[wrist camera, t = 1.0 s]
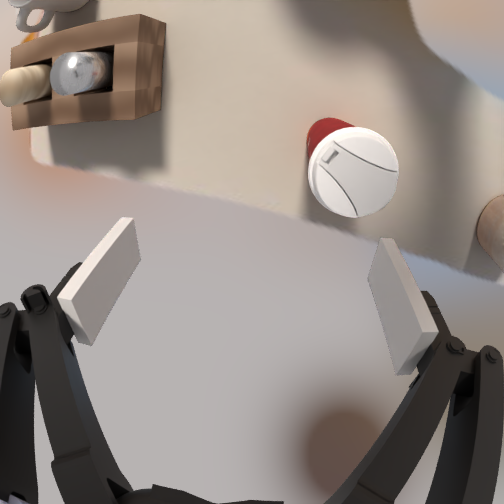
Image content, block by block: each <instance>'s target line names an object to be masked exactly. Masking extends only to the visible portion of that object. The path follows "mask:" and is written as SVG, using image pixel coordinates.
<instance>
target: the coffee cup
mask: <svg viewBox="0 0 504 504" xmlns="http://www.w3.org/2000/svg"><path fill="white" fill-rule="evenodd" d="M307 148H308V155H309V161H310V162H309V167H308V179H309V184H310V187H311V190H312V192H313V194H314V196H315V197H316V199H317V200H318V201H319V202H320V204H322V205H323V206H324V207H325V208H326V209H328V210H330V211H331V212H334V213H336V214H339V215H342V216H346V217H352V218H357V216H358V217H362V216H366V215H369V214H373V213H375V212H377V211H379V210H381V209H382V208H384V207H385V206H386V205H387V204H388V203H389V202H390V200H391V199H392V197H393V195H394V193H395V191H396V186H397V181H398V175H399V167H398V160H397V157H396V154H395V152H394V150H393V148H392V147H391V145H390V144H389V143H388V141H387V140H386V139H385V138H383V137H382V136H381V135H380V134H378V133H376V132H374V131H372V130H369V129H366V128H361V127H355V126H353V125H351V124H349V123H346V122H344V121H342V120H339V119H335V118H324V119H321V120H319V121H317V122H316V123H314V124H313V125H312V127H311V128H310V130H309V132H308V135H307Z"/></svg>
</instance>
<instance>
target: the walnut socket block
mask: <svg viewBox="0 0 504 504" xmlns="http://www.w3.org/2000/svg"><path fill="white" fill-rule="evenodd" d="M165 28H166V23H164V22H161V21H159V20H156V19H153V18H150V17H148V16H145V15H142V14H136V15H129V16H123V17H117V18H112V19H107V20H102V21H97V22H93V23H88V24H84V25H80V26H76V27H72V28H69V29H65V30H62V31H58V32H55V33H52V34H49V35H45V36H42V37H39V38H37V39H34V40H31V41H28V42H26V43H23V44H20V45H18V46H15V47H13V48H11V69H15V68H21V67H27V66H34V65H41V64H50V63H52V66H53V64H54V62H55V61H56V59H57V58H58V57H59V56H61V55H62V54H64V53H68V52H111V51H114V66H113V89H107V87H104V88H99V89H94V90H89V91H84V92H79V93H75V94H70V95H66V96H62V95H59V94H57V93H56V92H55V91H54V90H53V88H52V95H49V96H45V97H41V98H38V99H34V100H30V101H27V102H24V103H20V104H17V105H14V106H11V114H12V126H13V130H19V129H25V128H32V127H39V126H47V125H56V124H66V123H77V122H90V121H107V120H135V119H137V118H140V117H143V116H145V115H148V114H150V113H153V112H156V111H158V110H161V86H162V67H163V52H164V39H165Z"/></svg>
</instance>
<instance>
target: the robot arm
mask: <svg viewBox="0 0 504 504" xmlns="http://www.w3.org/2000/svg"><path fill="white" fill-rule="evenodd" d="M140 260H141V258H140V253H139V247H138V241H137V236H136V229H135V223H134V218H124V217H122V218H121V219H120V220H119V221H118V222H117V223H116V224H115V225H114V226H113V228H112V229H111V230H110V231H109V232H108V233H107V235H106V236H105V237H104V238H103V239H102V240H101V242H100V243H99V244H98V245H97V246H96V248H95V249H94V250H93V251H92V252H91V254H90V255H89V256H88V258H87V259H86V260H85V261H84V262H83V263H81V262H79V263H78V264H76V265H75V266H73V267H72V268H71V269H70V270H69V271H68V273H67V274H66V276H64V278H63V279H62V280H61V282H60V283H59V284H58V285H57V287H56V288H55V289H54V291H53V292H52V293H51V295H50V296H49V295H48V292H47V290H46V288H45V286H43V285H39V284H37V285H33V286H31V287H29V288H27V289H26V290H25V291H24V292H23V294H22V295H21V301H22V303H23V305H24V307H25V309H26V310H22V311H18V310H17V308H16V306H15V304H13V303H11V302H8V303H5V304H2V305H1V306H0V504H38V484H37V474H36V463H35V449H34V394H35V380H36V385H37V391H38V396H39V401H40V405H41V409H42V414H43V418H44V422H45V426H46V429H47V433H48V437H49V440H50V444H51V447H52V450H53V453H54V460H53V461H52V462H51V468H52V472H53V475H54V477H55V480H56V483H57V486H58V488H59V491H60V493H61V496H62V498H63V501H64V502H65V504H216V503H212V502H209V501H207V500H204V499H202V498H199V497H196V496H194V495H192V494H189V493H187V492H185V491H181V490H177V489H172V488H167V487H162V486H158V485H155V484H153V486H152V489H140V490H135V491H133V489H132V487H131V485H130V484H129V482H128V481H127V479H126V478H125V477H124V475H123V474H122V473H121V471H120V469H119V468H118V465H117V463H116V462H115V459H114V457H113V455H112V453H111V451H110V448H109V446H108V444H107V442H106V439H105V437H104V435H103V432H102V430H101V428H100V425H99V422H98V420H97V417H96V415H95V412H94V410H93V407H92V404H91V401H90V399H89V396H88V393H87V390H86V387H85V384H84V381H83V378H82V374H81V371H80V368H79V365H78V361H77V358H76V354H75V350H74V347H73V344H72V342H71V338H72V337H73V335H75V337H76V339H77V341H78V342H79V343H83V344H86V345H90V346H92V345H93V343H94V341H95V339H96V337H97V335H98V333H99V332H100V330H101V327H102V326H103V324H104V322H105V320H106V318H107V317H108V315H109V313H110V311H111V310H112V308H113V306H114V304H115V303H116V301H117V299H118V297H119V296H120V294H121V292H122V290H123V289H124V287H125V285H126V284H127V282H128V280H129V279H130V277H131V275H132V274H133V272H134V270H135V269H136V267H137V265H138V264H139V262H140ZM368 282H369V285H370V287H371V290H372V294H373V297H374V300H375V303H376V306H377V310H378V313H379V316H380V319H381V323H382V326H383V330H384V333H385V336H386V340H387V344H388V347H389V351H390V354H391V359H392V362H393V366H394V370H395V374H396V375H410V374H411V373H412V372H413V371H414V369H415V368H416V366H417V368H418V372H419V374H418V375H417V377H416V378H415V379H414V381H413V382H412V383H411V385H410V386H409V388H410V389H409V391H408V392H407V394H406V396H405V397H404V399H403V401H402V402H401V404H400V405H399V407H398V409H397V410H396V412H395V413H394V415H393V417H392V418H391V420H390V421H389V423H388V424H387V426H386V427H385V429H384V430H383V432H382V433H381V435H380V436H379V437H378V439H377V440H376V442H375V443H374V444H373V446H372V447H371V449H370V450H369V451H368V453H367V454H366V455H365V457H364V458H363V459H362V461H361V462H360V463H359V464H358V466H357V467H356V468H355V469H354V471H353V472H352V473H351V474H350V476H349V477H348V478H347V479H346V481H345V482H344V483H343V484H342V485H341V486H340V488H339V489H338V490H337V491H336V492H335V493H334V494H333V495H332V496H331V497H330V498H329V499H328V500H327V501H326V502H325V503H324V504H394V500H395V499H396V497H397V496H398V494H399V493H400V491H401V490H402V488H403V487H404V485H405V484H406V482H407V480H408V479H409V477H410V476H411V474H412V472H413V471H414V469H415V467H416V466H417V464H418V462H419V460H420V459H421V457H422V455H423V453H424V451H425V449H426V448H427V446H428V444H429V442H430V440H431V438H432V436H433V434H434V432H435V430H436V428H437V426H438V424H439V422H440V420H441V418H442V415H443V413H444V411H445V409H446V407H447V404H448V402H449V399H450V405H449V411H448V417H447V422H446V428H445V433H444V438H443V442H442V447H441V451H440V456H439V459H438V463H437V467H436V471H435V474H434V478H433V481H432V485H431V488H430V491H429V494H428V497H427V500H426V503H425V504H492V501H493V497H494V492H495V487H496V482H497V476H498V470H499V462H500V455H501V446H502V434H503V419H504V372H503V359H502V356H501V354H500V352H499V351H498V350H497V349H496V348H494V347H492V346H489V345H487V346H484V347H483V348H482V349H481V350H480V352H475V351H471V350H467V349H466V347H465V345H464V343H463V342H462V341H461V340H460V339H458V338H457V337H454V336H451V334H450V331H449V329H448V327H447V325H446V323H445V320H444V318H443V316H442V315H441V312H440V310H439V308H438V306H437V304H436V302H435V300H434V298H433V297H432V296H431V295H430V294H429V293H428V292H427V291H420V289H419V287H418V285H417V283H416V281H415V279H414V278H413V275H412V273H411V271H410V269H409V267H408V266H407V264H406V262H405V260H404V258H403V256H402V254H401V252H400V251H399V249H398V247H397V245H396V243H395V241H394V240H393V239H391V238H382V237H380V240H379V243H378V247H377V250H376V253H375V257H374V260H373V263H372V266H371V269H370V273H369V276H368ZM450 397H451V398H450ZM222 504H284V502H283V501H259V500H247V501H239V502H231V503H222Z"/></svg>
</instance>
